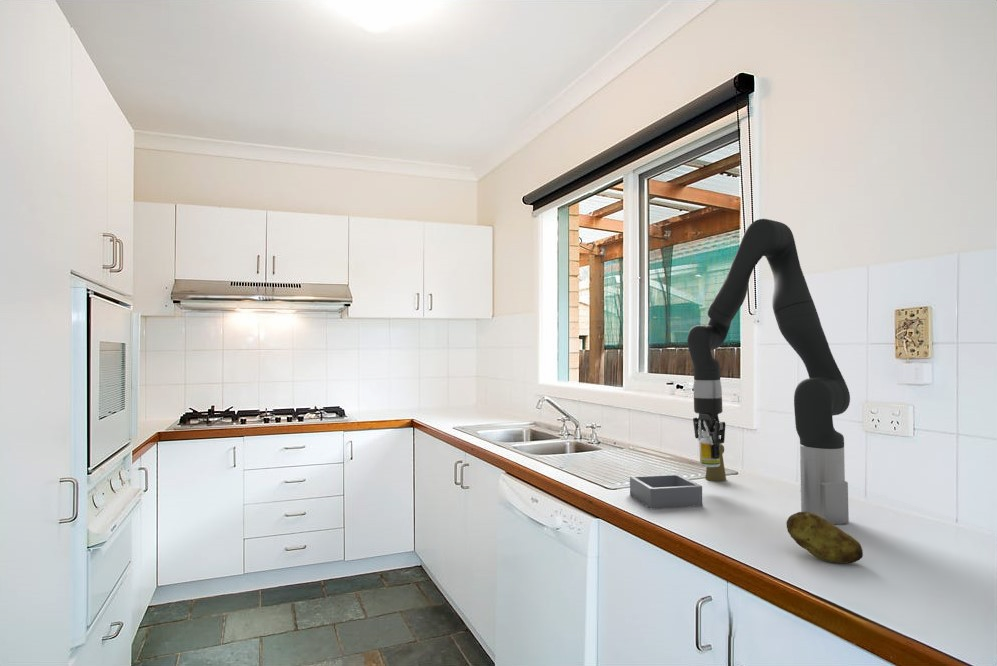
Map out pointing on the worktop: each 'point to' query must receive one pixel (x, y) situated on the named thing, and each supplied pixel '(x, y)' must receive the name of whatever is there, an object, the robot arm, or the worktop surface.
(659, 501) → the box
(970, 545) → the worktop surface
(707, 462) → the supplement bottle
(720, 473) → the cork
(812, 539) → the potato
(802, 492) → the robot arm
